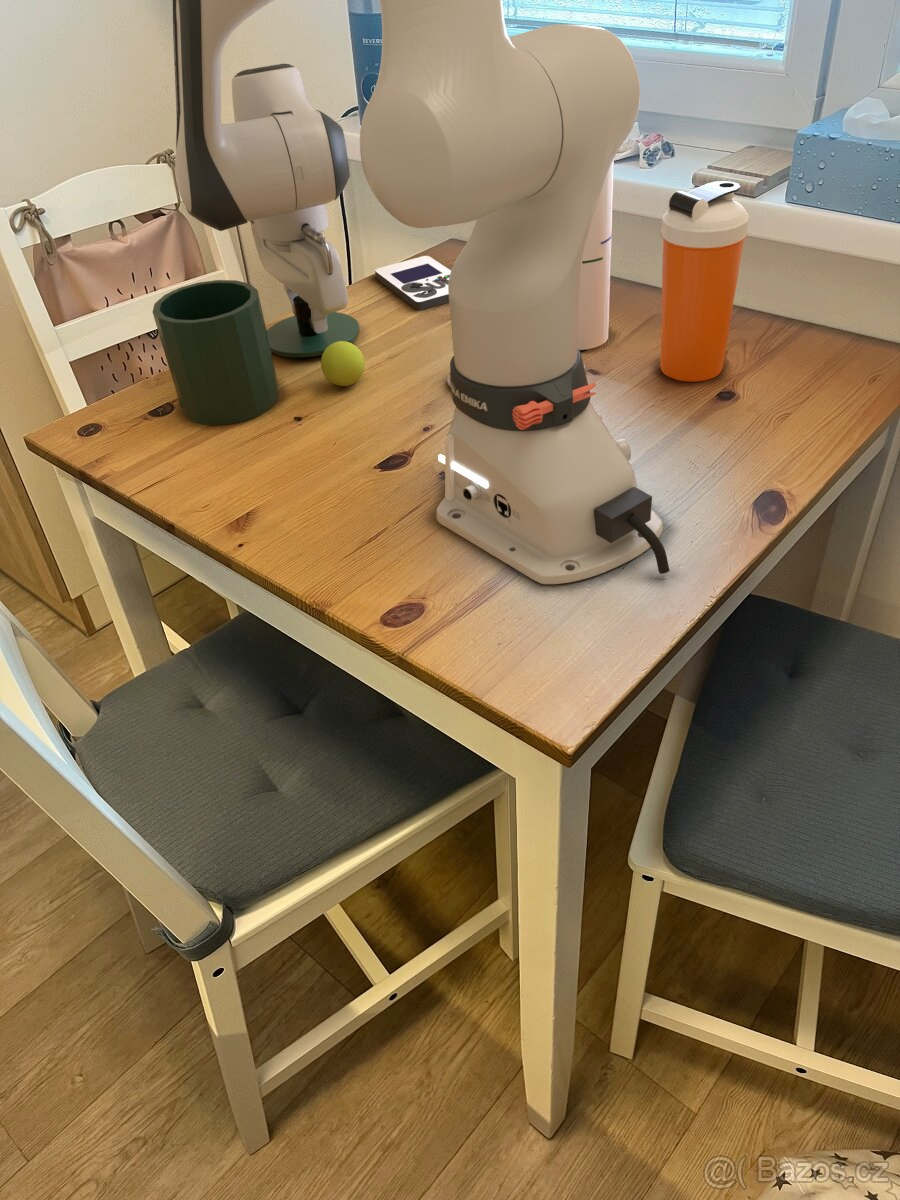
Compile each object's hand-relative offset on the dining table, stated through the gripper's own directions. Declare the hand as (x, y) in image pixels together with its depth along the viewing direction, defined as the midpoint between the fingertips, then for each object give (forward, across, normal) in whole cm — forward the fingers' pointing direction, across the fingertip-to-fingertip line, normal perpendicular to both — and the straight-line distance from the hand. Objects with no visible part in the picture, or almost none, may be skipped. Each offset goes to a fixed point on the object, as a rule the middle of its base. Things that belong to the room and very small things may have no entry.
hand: (310, 323), depth 122 cm
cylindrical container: (+2, -22, -27) cm, 35 cm away
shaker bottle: (+2, -37, -32) cm, 49 cm away
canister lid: (+2, 0, 0) cm, 2 cm away
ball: (0, -14, +2) cm, 14 cm away
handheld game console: (+2, +6, -20) cm, 21 cm away
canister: (+2, -9, +15) cm, 18 cm away
